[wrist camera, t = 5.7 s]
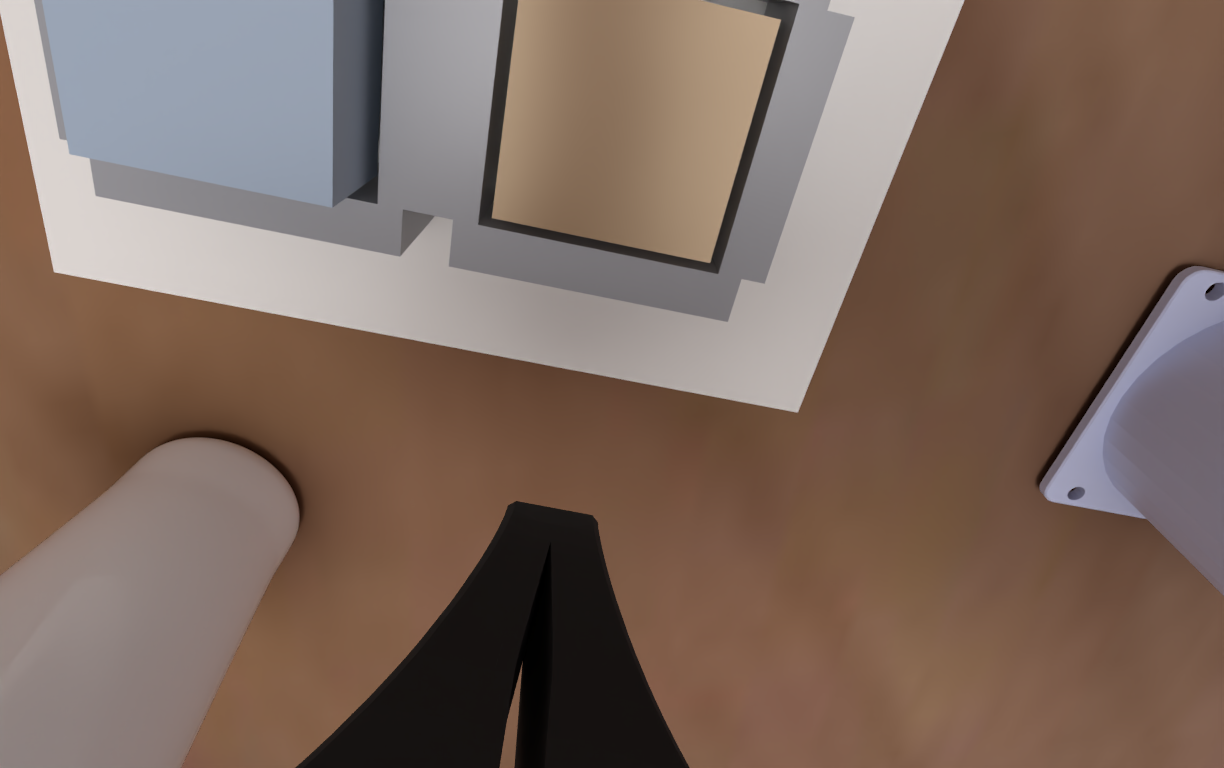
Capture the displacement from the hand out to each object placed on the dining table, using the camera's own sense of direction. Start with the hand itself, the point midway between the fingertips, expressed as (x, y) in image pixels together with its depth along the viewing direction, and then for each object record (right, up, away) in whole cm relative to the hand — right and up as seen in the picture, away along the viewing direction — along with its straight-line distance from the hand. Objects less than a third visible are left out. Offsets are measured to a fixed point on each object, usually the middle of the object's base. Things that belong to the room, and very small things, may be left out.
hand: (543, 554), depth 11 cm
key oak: (+1, +9, +4) cm, 10 cm away
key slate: (-6, +9, +2) cm, 11 cm away
